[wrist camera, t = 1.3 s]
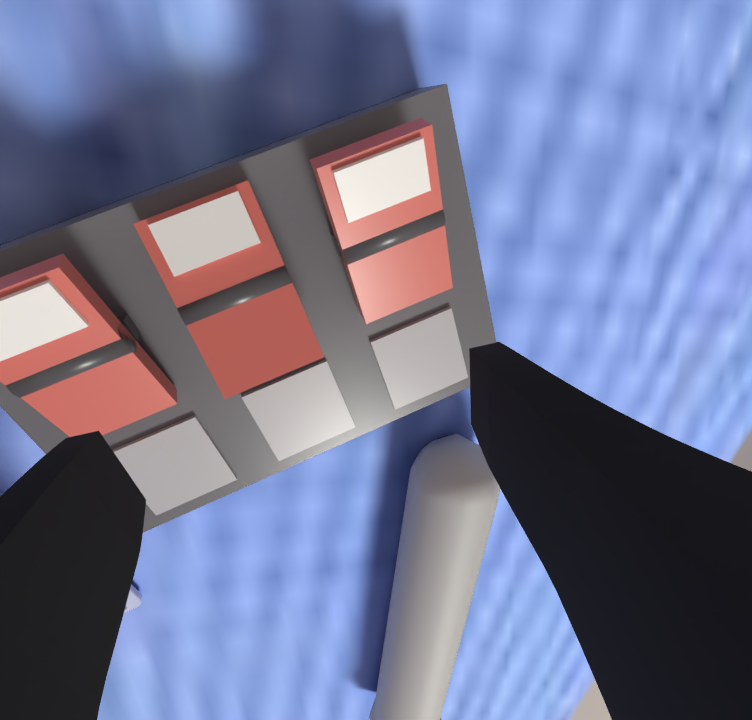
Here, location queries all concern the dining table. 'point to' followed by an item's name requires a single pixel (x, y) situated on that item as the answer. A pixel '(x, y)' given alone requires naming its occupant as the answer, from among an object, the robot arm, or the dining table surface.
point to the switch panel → (318, 297)
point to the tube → (434, 576)
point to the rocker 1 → (74, 353)
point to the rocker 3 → (388, 217)
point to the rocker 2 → (231, 288)
